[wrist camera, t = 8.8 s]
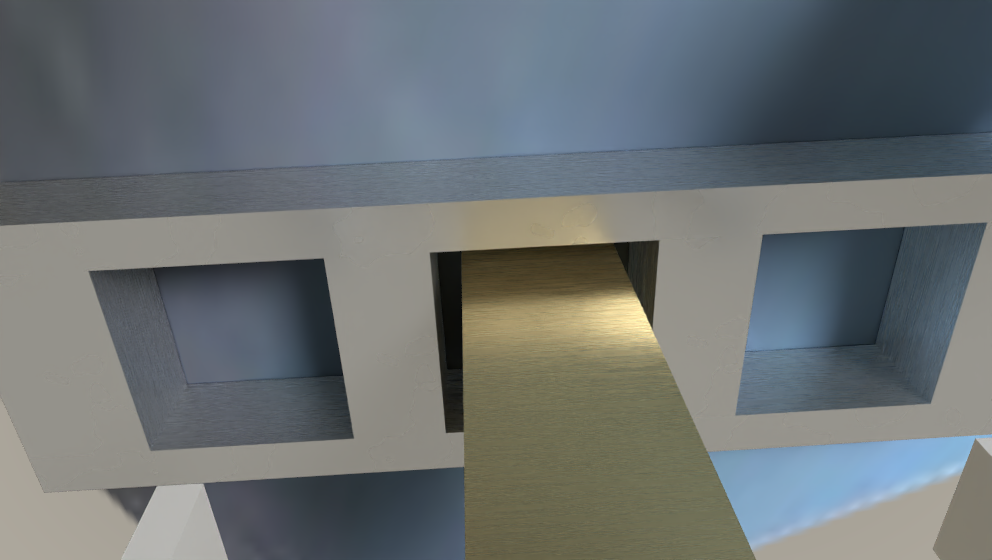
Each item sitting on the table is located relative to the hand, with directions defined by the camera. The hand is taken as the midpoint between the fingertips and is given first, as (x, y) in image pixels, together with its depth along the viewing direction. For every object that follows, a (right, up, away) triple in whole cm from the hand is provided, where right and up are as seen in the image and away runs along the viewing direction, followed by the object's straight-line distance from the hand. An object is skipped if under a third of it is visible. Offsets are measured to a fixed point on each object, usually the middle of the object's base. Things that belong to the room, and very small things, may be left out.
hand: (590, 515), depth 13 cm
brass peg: (-1, +4, +8) cm, 9 cm away
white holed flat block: (-1, +4, +8) cm, 9 cm away
